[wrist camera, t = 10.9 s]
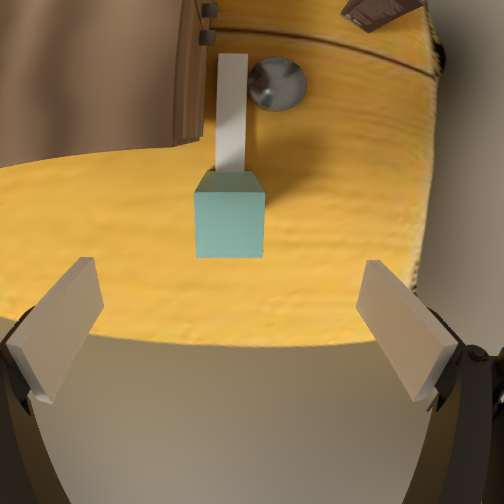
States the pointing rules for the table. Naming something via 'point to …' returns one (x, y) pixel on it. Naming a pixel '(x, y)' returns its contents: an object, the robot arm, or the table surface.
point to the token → (276, 84)
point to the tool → (230, 176)
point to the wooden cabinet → (101, 75)
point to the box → (377, 11)
